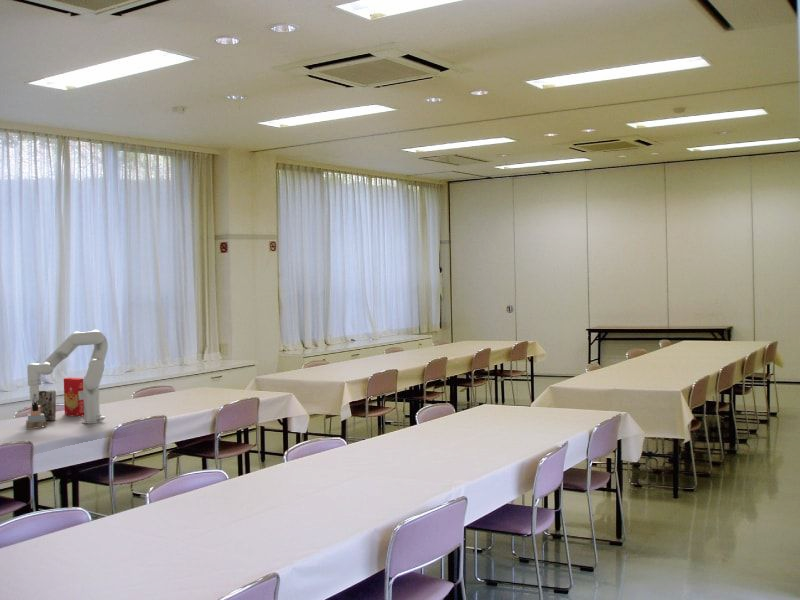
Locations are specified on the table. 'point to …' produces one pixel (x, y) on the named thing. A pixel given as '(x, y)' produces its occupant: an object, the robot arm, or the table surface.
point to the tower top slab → (36, 418)
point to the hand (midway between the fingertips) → (35, 409)
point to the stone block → (47, 403)
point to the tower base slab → (35, 424)
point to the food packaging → (73, 396)
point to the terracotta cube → (34, 413)
